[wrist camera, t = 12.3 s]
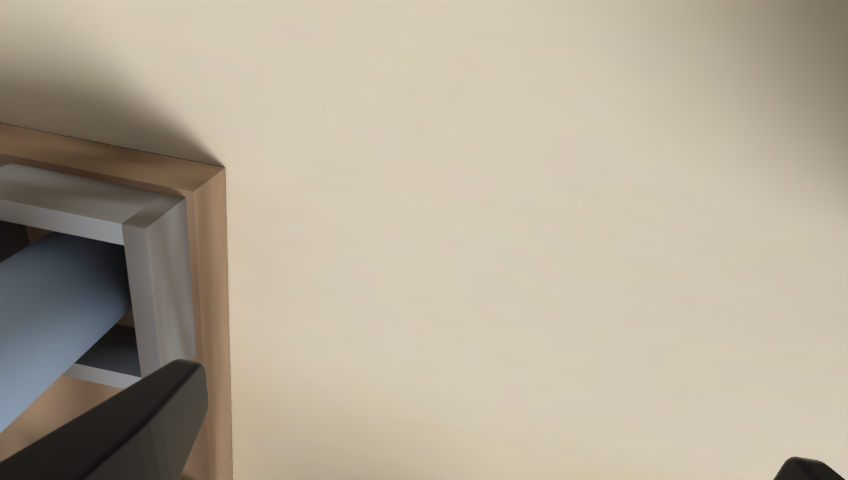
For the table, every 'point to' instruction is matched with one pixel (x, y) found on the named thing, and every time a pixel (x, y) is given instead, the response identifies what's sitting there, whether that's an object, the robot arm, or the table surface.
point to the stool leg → (55, 312)
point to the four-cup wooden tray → (147, 272)
